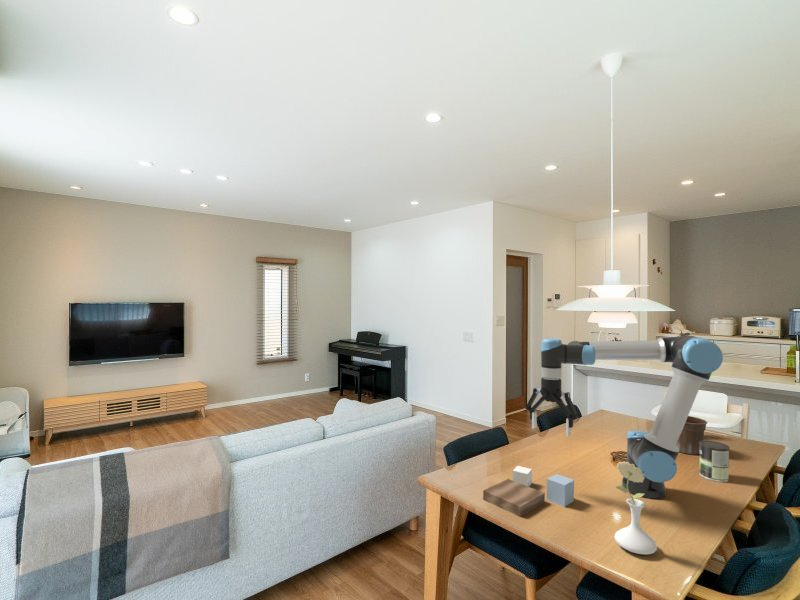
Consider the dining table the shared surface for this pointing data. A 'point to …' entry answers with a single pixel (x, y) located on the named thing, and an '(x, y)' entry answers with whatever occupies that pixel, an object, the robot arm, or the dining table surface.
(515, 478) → the white cube
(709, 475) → the coffee can
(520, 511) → the walnut block
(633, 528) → the flower in vase
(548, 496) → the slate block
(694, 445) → the plant pot
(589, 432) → the dining table surface
